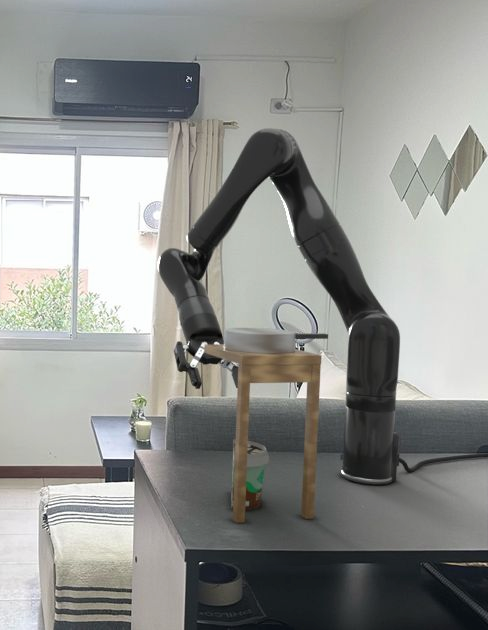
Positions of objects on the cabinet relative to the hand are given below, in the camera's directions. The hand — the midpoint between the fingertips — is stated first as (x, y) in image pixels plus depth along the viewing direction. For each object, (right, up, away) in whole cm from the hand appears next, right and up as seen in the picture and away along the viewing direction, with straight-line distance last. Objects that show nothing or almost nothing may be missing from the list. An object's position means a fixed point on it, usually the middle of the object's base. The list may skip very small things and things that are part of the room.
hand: (219, 386), depth 146 cm
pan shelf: (+6, -19, -14) cm, 25 cm away
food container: (+2, -20, -14) cm, 24 cm away
